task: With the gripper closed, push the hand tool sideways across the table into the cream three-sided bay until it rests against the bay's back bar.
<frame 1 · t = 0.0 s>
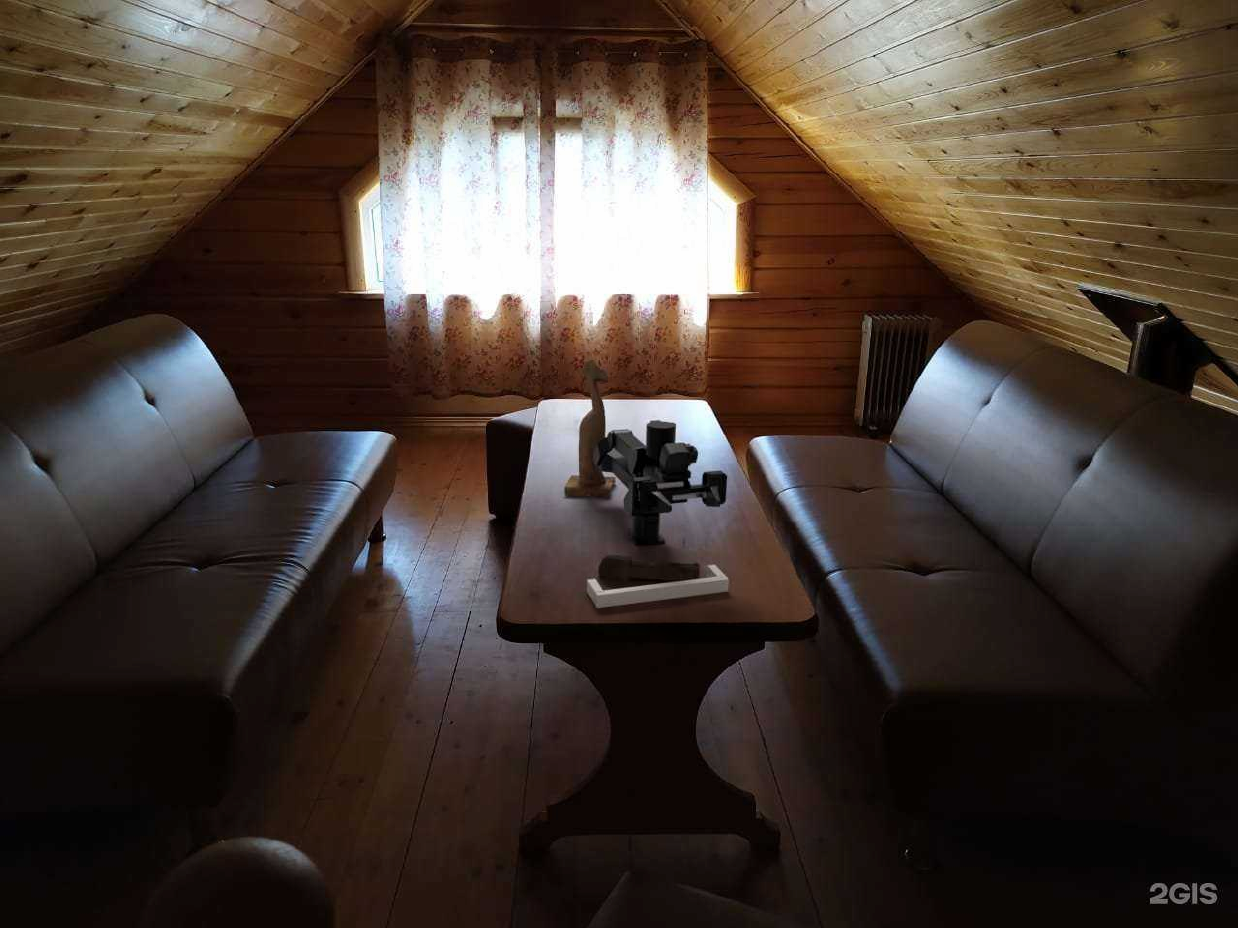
hand: (695, 506, 156), 17 cm above the table, tool horizontal, fingers open, 9 cm apart
bird sculpture: (590, 491, 212), on the table
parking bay: (657, 591, 161), on the table
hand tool: (648, 582, 165), on the table
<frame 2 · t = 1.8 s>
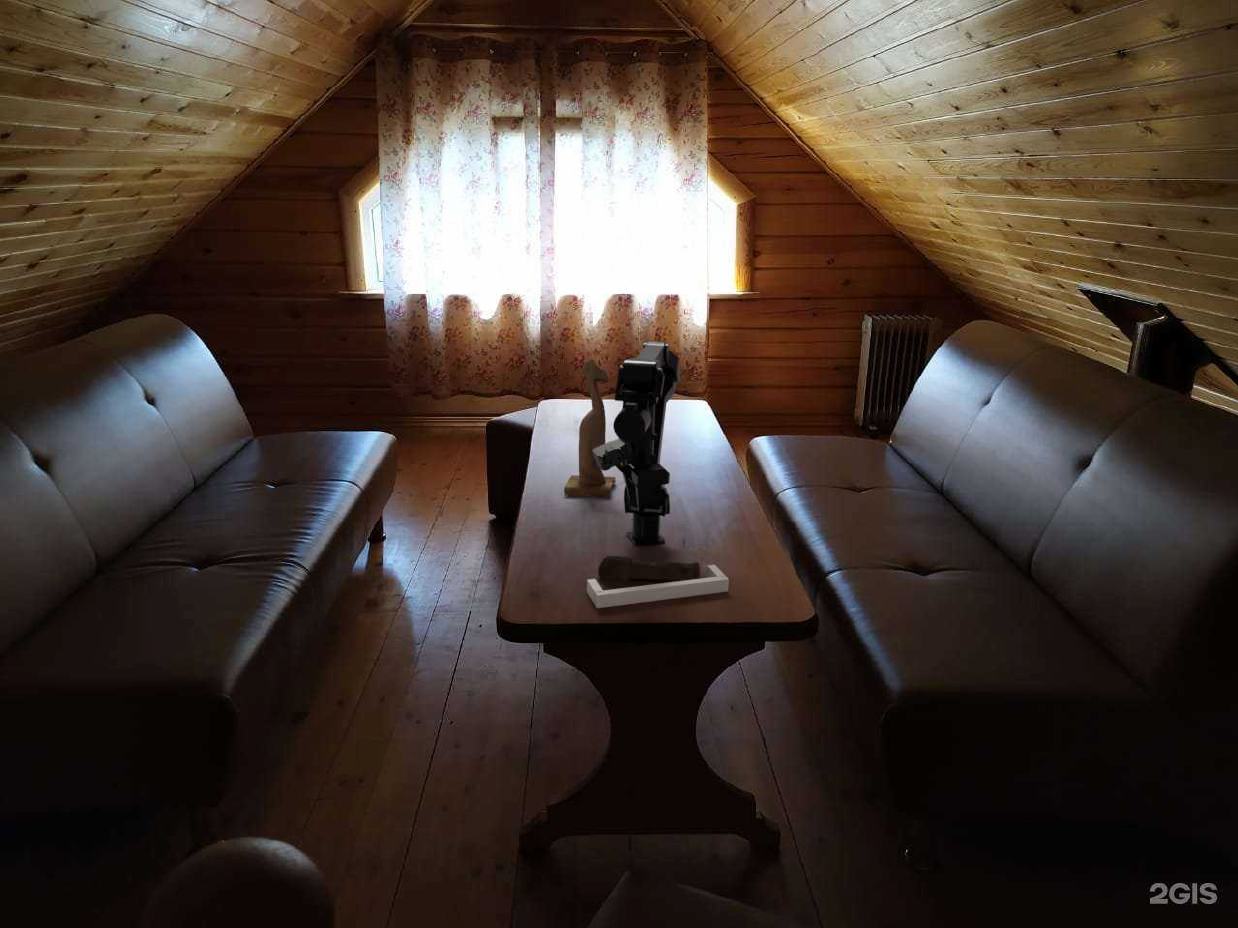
hand: (636, 505, 169), 12 cm above the table, tool pointing down, fingers open, 5 cm apart
nothing on the table moved.
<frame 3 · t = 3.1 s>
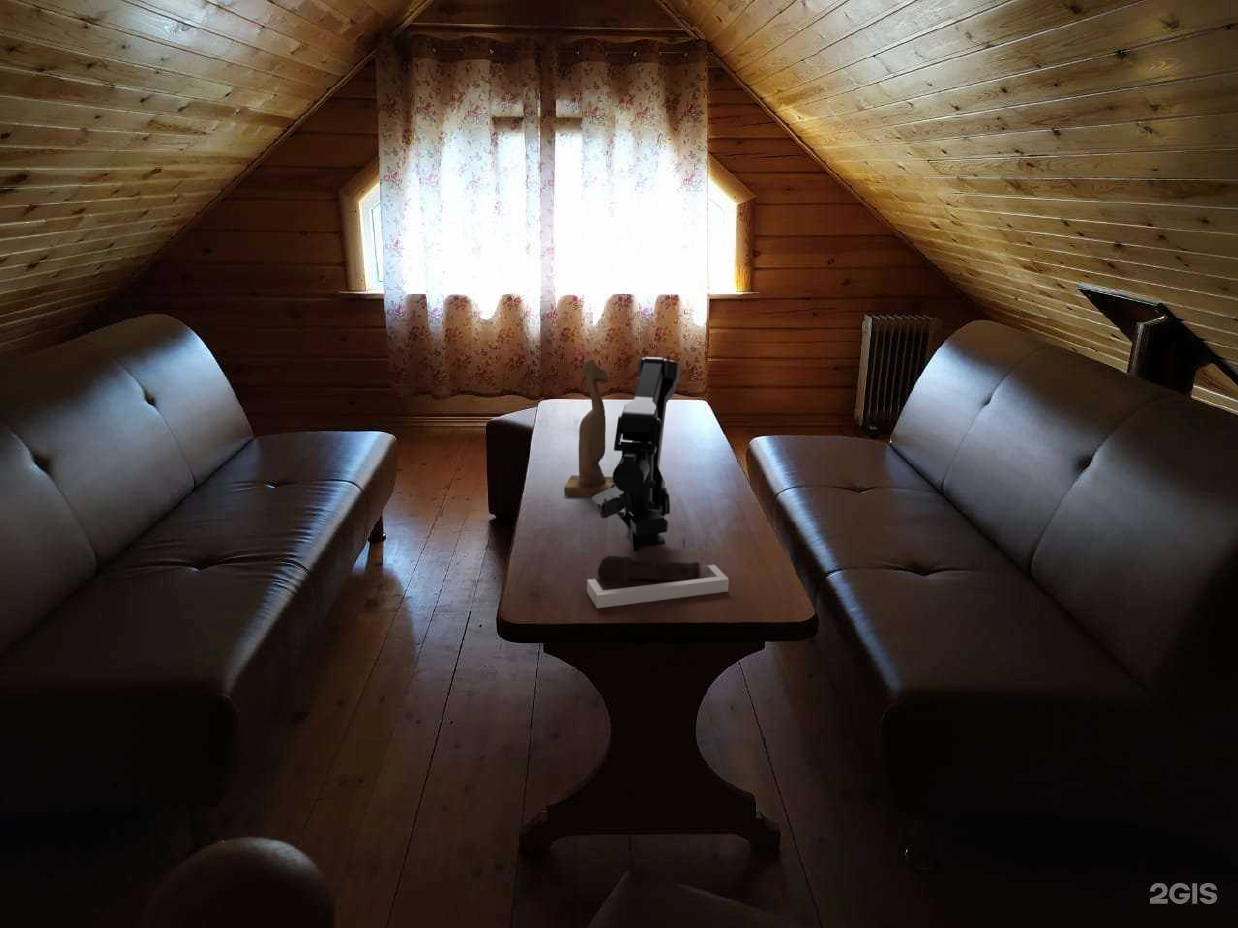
hand: (635, 550, 172), 3 cm above the table, tool pointing down, fingers closed
nothing on the table moved.
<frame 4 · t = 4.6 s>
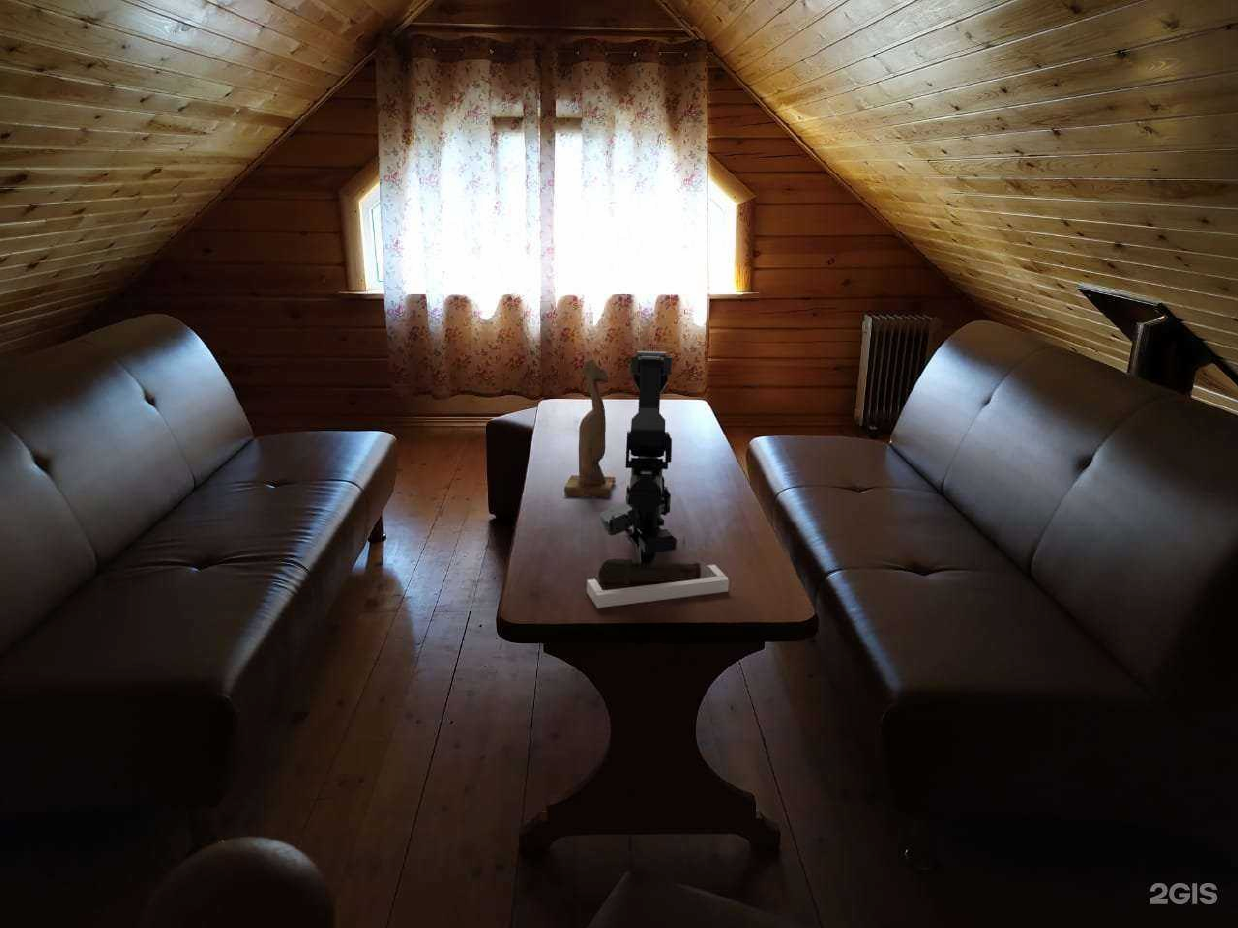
hand: (643, 568, 167), 1 cm above the table, tool pointing down, fingers closed
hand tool: (650, 584, 164), on the table, touching gripper
everything else where it was.
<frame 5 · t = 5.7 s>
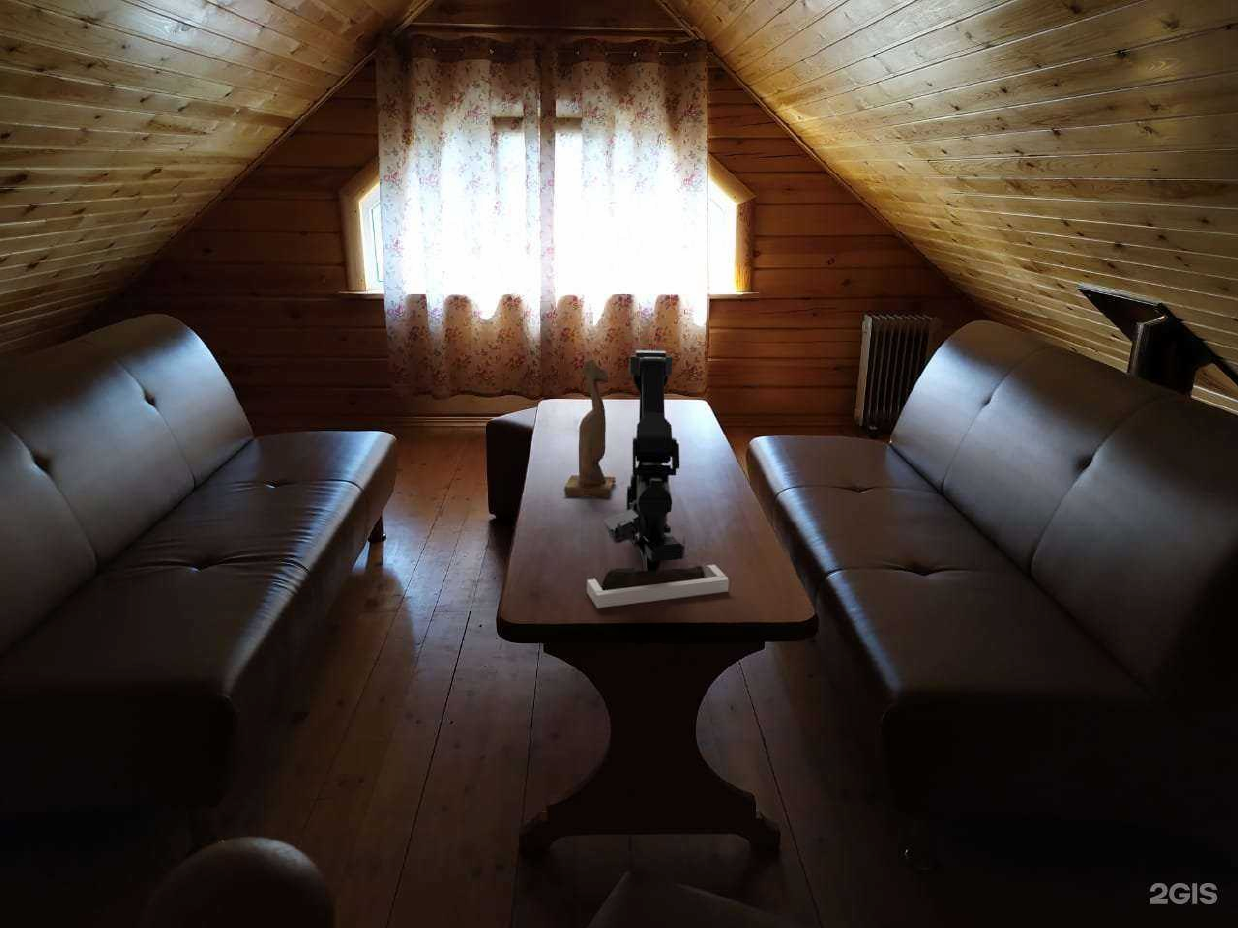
hand: (649, 576, 165), 1 cm above the table, tool pointing down, fingers closed
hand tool: (654, 592, 162), on the table, touching gripper
everything else where it was.
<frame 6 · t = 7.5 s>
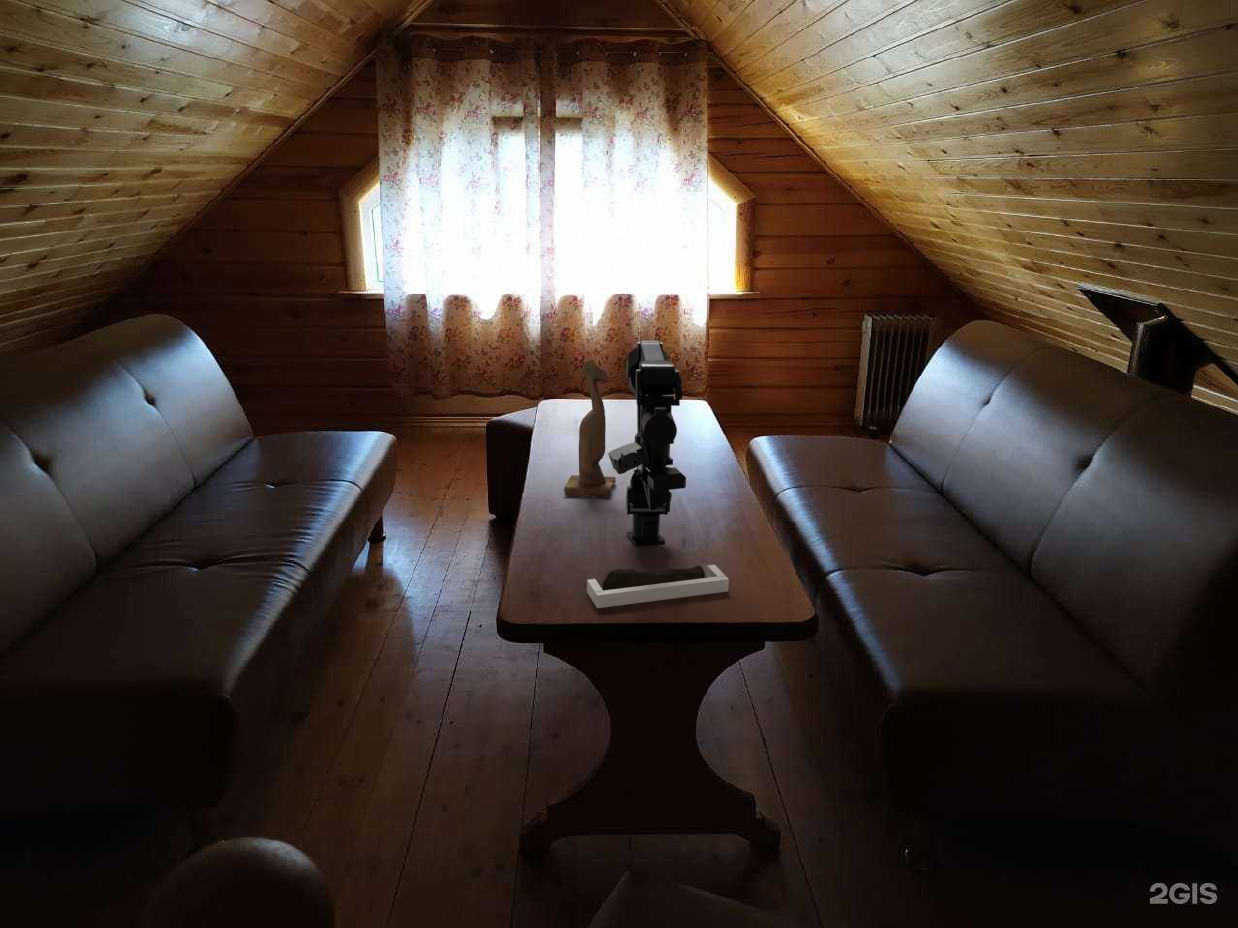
hand: (652, 509, 168), 12 cm above the table, tool pointing down, fingers closed
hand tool: (654, 592, 162), on the table
everything else where it was.
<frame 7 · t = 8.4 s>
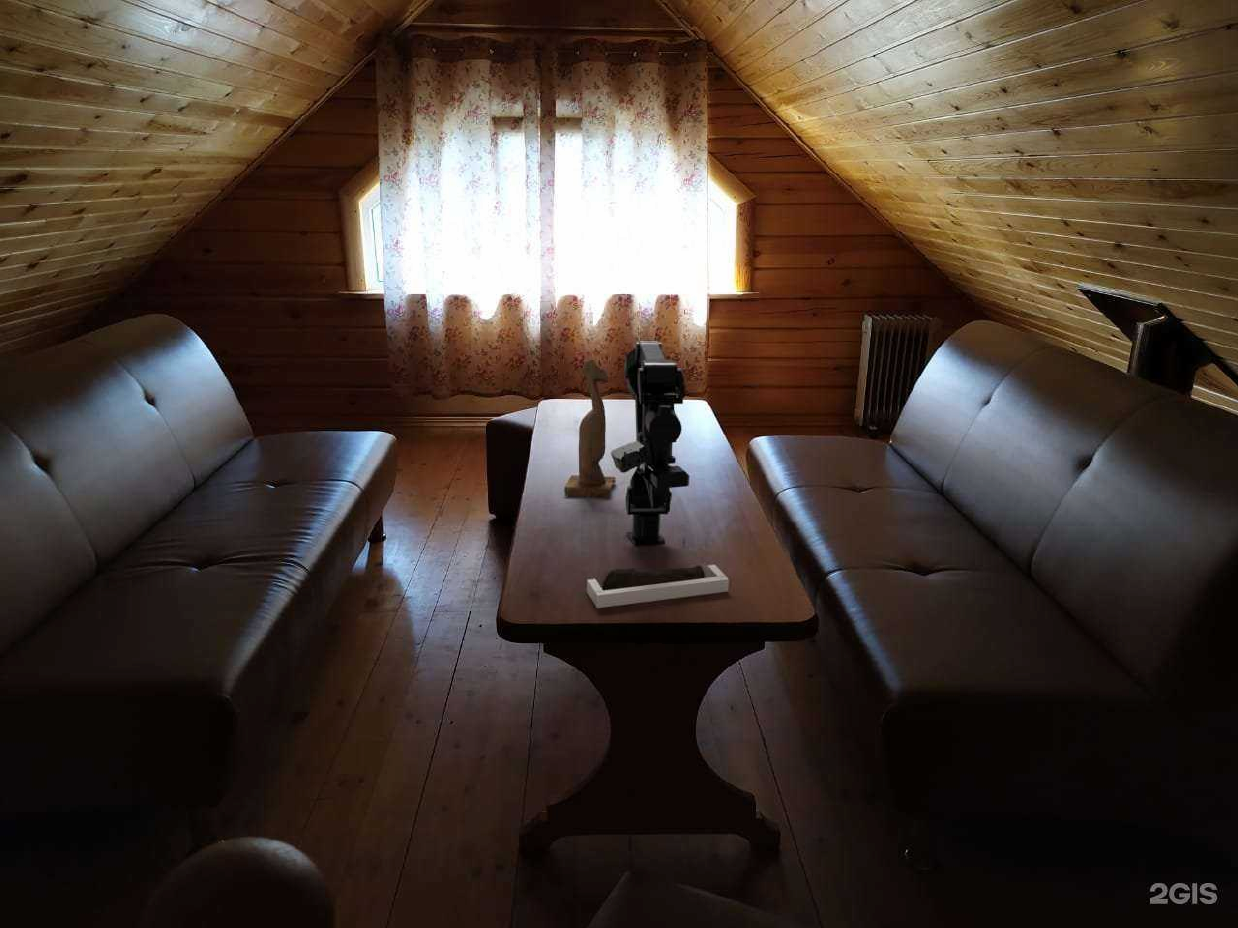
hand: (655, 508, 168), 12 cm above the table, tool pointing down, fingers closed
nothing on the table moved.
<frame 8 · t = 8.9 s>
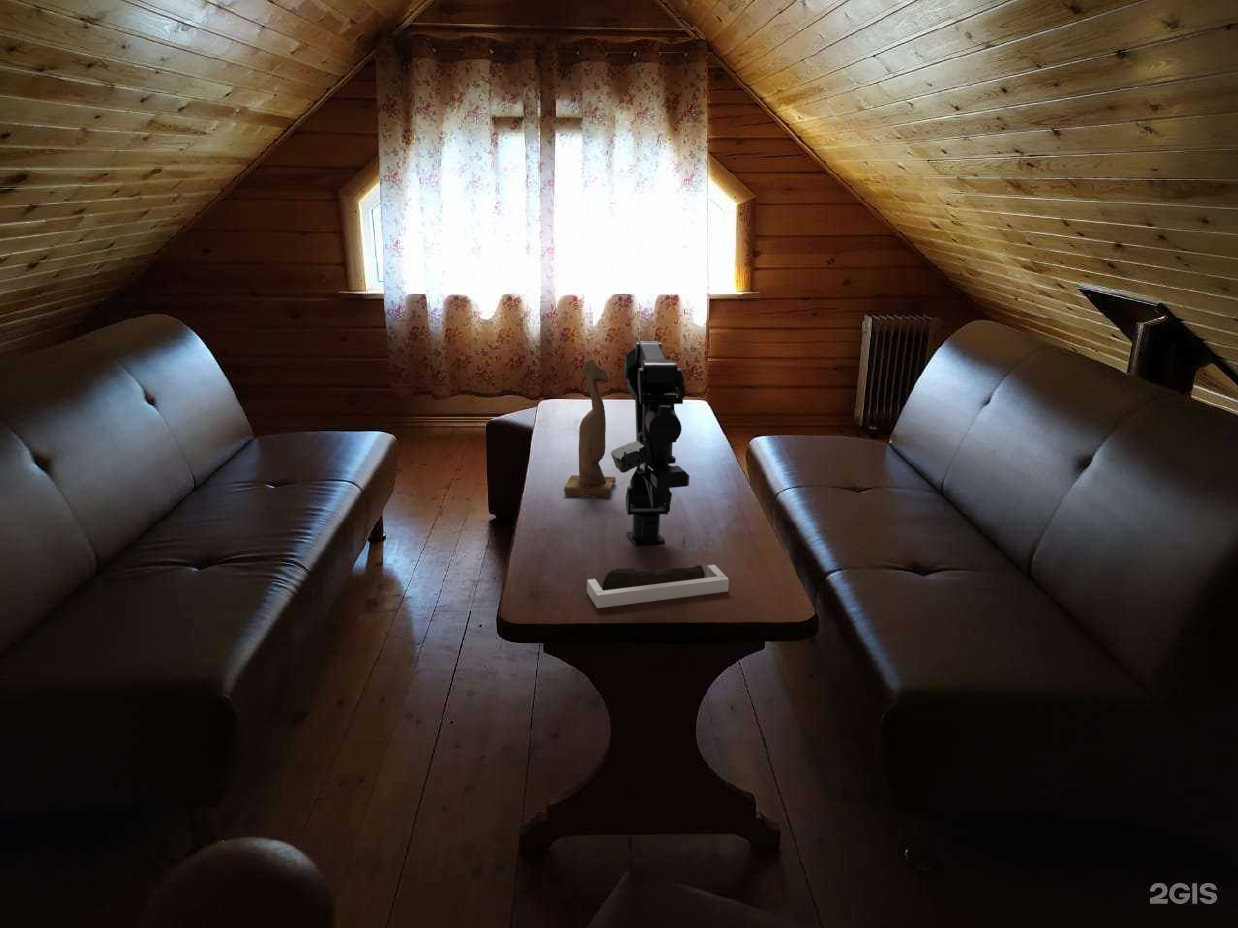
hand: (655, 508, 168), 12 cm above the table, tool pointing down, fingers closed
nothing on the table moved.
at the end: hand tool 0.4 cm off-centre on the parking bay, point -0.5 cm above the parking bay's base; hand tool moved 4.2 cm from its start; the gripper is holding nothing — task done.
